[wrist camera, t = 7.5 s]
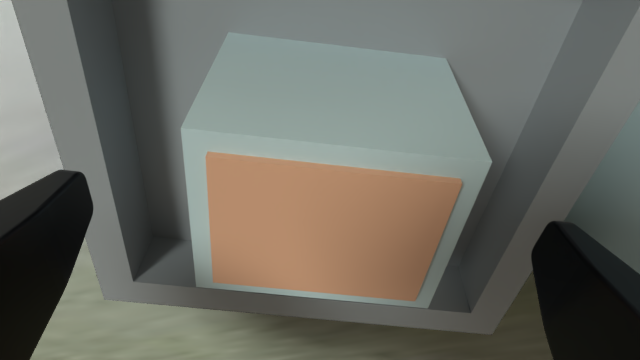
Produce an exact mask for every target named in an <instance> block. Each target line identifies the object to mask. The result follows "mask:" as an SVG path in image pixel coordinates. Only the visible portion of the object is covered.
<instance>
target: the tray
mask: <svg viewBox="0 0 640 360" xmlns="http://www.w3.org/2000/svg"><path fill="white" fill-rule="evenodd" d="M11 1H12V4H13V7H14V10H15V13H16V17H17V20H18V23H19V26H20V30H21V33H22V36H23V39H24V42H25V46H26V49H27V52H28V55H29V59H30V62H31V65H32V68H33V71H34V75H35V78H36V81H37V84H38V87H39V91H40V94H41V97H42V100H43V104H44V107H45V110H46V113H47V116H48V120H49V123H50V126H51V129H52V133H53V136H54V139H55V142H56V145H57V149H58V152H59V155H60V158H61V161H62V165H63V168H64V170H71V171H79V172H82V173H83V174H84V175H85V177H86V180H87V183H88V187H89V190H90V194H91V198H92V201H93V215H92V218H91V221H90V224H89V226H88V229H87V232H86V235H85V239H86V242H87V245H88V248H89V252H90V255H91V258H92V261H93V264H94V268H95V271H96V274H97V277H98V281H99V284H100V287H101V290H102V293H103V297H104V300H115V301H126V302H136V303H147V304H158V305H169V306H180V307H191V308H202V309H213V310H224V311H235V312H246V313H257V314H268V315H279V316H290V317H301V318H312V319H323V320H334V321H345V322H356V323H367V324H378V325H389V326H400V327H411V328H422V329H433V330H443V331H454V332H465V333H476V334H487V335H492V334H493V332H494V331H495V329H496V328H497V326H498V325H499V323H500V321H501V320H502V318H503V317H504V315H505V313H506V312H507V310H508V309H509V307H510V306H511V304H512V302H513V301H514V299H515V298H516V296H517V294H518V293H519V291H520V290H521V288H522V286H523V285H524V283H525V282H526V280H527V279H528V277H529V275H530V274H531V272H532V271H533V267H532V262H531V253H532V249H533V247H534V245H535V243H536V242H537V240H538V238H539V237H540V235H541V233H542V232H543V230H544V228H545V227H546V225H547V224H548V223H549V222H551V221H564V220H565V218H566V217H567V215H568V213H569V212H570V210H571V209H572V207H573V206H574V204H575V202H576V201H577V199H578V198H579V196H580V194H581V193H582V191H583V190H584V188H585V187H586V185H587V183H588V182H589V180H590V179H591V177H592V175H593V174H594V172H595V171H596V169H597V167H598V166H599V164H600V163H601V161H602V160H603V158H604V156H605V155H606V153H607V152H608V150H609V148H610V147H611V145H612V144H613V142H614V141H615V139H616V137H617V136H618V134H619V133H620V131H621V129H622V128H623V126H624V125H625V123H626V121H627V120H628V118H629V117H630V115H631V114H632V112H633V110H634V109H635V107H636V106H637V104H638V102H639V101H640V0H11ZM228 32H231V33H239V34H247V35H256V36H264V37H272V38H281V39H289V40H297V41H306V42H314V43H323V44H331V45H339V46H348V47H356V48H364V49H373V50H381V51H389V52H398V53H406V54H414V55H423V56H431V57H439V58H446V59H447V62H448V64H449V66H450V68H451V71H452V73H453V75H454V77H455V80H456V82H457V84H458V86H459V89H460V91H461V93H462V95H463V98H464V100H465V102H466V104H467V106H468V109H469V111H470V113H471V115H472V118H473V120H474V122H475V124H476V127H477V129H478V131H479V133H480V136H481V138H482V140H483V142H484V145H485V147H486V149H487V151H488V154H489V156H490V158H491V160H492V164H491V166H490V168H489V171H488V173H487V175H486V177H485V180H484V182H483V184H482V186H481V189H480V191H479V193H478V196H477V198H476V200H475V202H474V205H473V207H472V209H471V211H470V214H469V216H468V218H467V221H466V223H465V225H464V227H463V230H462V232H461V234H460V236H459V239H458V241H457V243H456V246H455V248H454V250H453V252H452V255H451V257H450V259H449V261H448V264H447V266H446V268H445V271H444V273H443V275H442V277H441V280H440V282H439V284H438V286H437V289H436V291H435V293H434V296H433V298H432V300H431V302H430V305H429V307H428V308H417V307H407V306H396V305H385V304H374V303H364V302H353V301H342V300H331V299H321V298H310V297H299V296H288V295H278V294H267V293H256V292H245V291H235V290H224V289H213V288H202V287H196V279H195V269H194V259H193V249H192V239H191V228H190V218H189V208H188V198H187V188H186V177H185V167H184V157H183V147H182V137H181V126H182V124H183V122H184V120H185V118H186V116H187V114H188V112H189V110H190V108H191V106H192V104H193V102H194V100H195V98H196V96H197V94H198V92H199V90H200V88H201V86H202V84H203V82H204V80H205V78H206V76H207V74H208V72H209V70H210V68H211V66H212V64H213V62H214V60H215V58H216V56H217V54H218V52H219V50H220V48H221V46H222V44H223V42H224V40H225V38H226V36H227V34H228Z"/></svg>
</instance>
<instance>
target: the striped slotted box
mask: <svg viewBox="0 0 640 360" xmlns="http://www.w3.org/2000/svg"><path fill="white" fill-rule="evenodd" d="M564 222H571V223H574V224H575V225H577V226H578V227H579V228H581V229H582V230H583V231H585V232H586V233H587V234H588V235H590V236H591V237H592V238H594V239H595V240H596V241H598V242H599V243H600V244H601V245H603V246H604V247H605V248H607V249H608V250H609V251H610V252H612V253H613V254H614V255H616V256H617V257H618V258H620V259H621V260H622V261H623V262H625V263H626V264H627V265H629V266H630V267H631V268H633V269H634V270H635V271H636V272H638V273H639V274H640V101H639V102H638V104H637V106H636V107H635V109H634V110H633V112H632V114H631V115H630V117H629V118H628V120H627V121H626V123H625V125H624V126H623V128H622V129H621V131H620V133H619V134H618V136H617V137H616V139H615V141H614V142H613V144H612V145H611V147H610V148H609V150H608V152H607V153H606V155H605V156H604V158H603V160H602V161H601V163H600V164H599V166H598V167H597V169H596V171H595V172H594V174H593V175H592V177H591V179H590V180H589V182H588V183H587V185H586V187H585V188H584V190H583V191H582V193H581V194H580V196H579V198H578V199H577V201H576V202H575V204H574V206H573V207H572V209H571V210H570V212H569V213H568V215H567V217H566V218H565V220H564Z"/></svg>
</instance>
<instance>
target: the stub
mask: <svg viewBox="0 0 640 360" xmlns="http://www.w3.org/2000/svg"><path fill="white" fill-rule="evenodd" d="M181 137H182V147H183V157H184V167H185V177H186V188H187V198H188V208H189V218H190V228H191V239H192V249H193V259H194V269H195V279H196V287H202V288H213V289H224V290H235V291H245V292H256V293H267V294H278V295H288V296H299V297H310V298H321V299H331V300H342V301H353V302H364V303H374V304H385V305H396V306H407V307H417V308H428V307H429V305H430V302H431V300H432V298H433V296H434V293H435V291H436V289H437V286H438V284H439V282H440V280H441V277H442V275H443V273H444V271H445V268H446V266H447V264H448V261H449V259H450V257H451V255H452V252H453V250H454V248H455V246H456V243H457V241H458V239H459V236H460V234H461V232H462V230H463V227H464V225H465V223H466V221H467V218H468V216H469V214H470V211H471V209H472V207H473V205H474V202H475V200H476V198H477V196H478V193H479V191H480V189H481V186H482V184H483V182H484V180H485V177H486V175H487V173H488V171H489V168H490V166H491V164H492V160H491V158H490V156H489V154H488V151H487V149H486V147H485V145H484V142H483V140H482V138H481V136H480V133H479V131H478V129H477V127H476V124H475V122H474V120H473V118H472V115H471V113H470V111H469V109H468V106H467V104H466V102H465V100H464V98H463V95H462V93H461V91H460V89H459V86H458V84H457V82H456V80H455V77H454V75H453V73H452V71H451V68H450V66H449V64H448V62H447V59H446V58H439V57H431V56H423V55H414V54H406V53H398V52H389V51H381V50H373V49H364V48H356V47H348V46H339V45H331V44H323V43H314V42H306V41H297V40H289V39H281V38H272V37H264V36H256V35H247V34H239V33H231V32H228V34H227V36H226V38H225V40H224V42H223V44H222V46H221V48H220V50H219V52H218V54H217V56H216V58H215V60H214V62H213V64H212V66H211V68H210V70H209V72H208V74H207V76H206V78H205V80H204V82H203V84H202V86H201V88H200V90H199V92H198V94H197V96H196V98H195V100H194V102H193V104H192V106H191V108H190V110H189V112H188V114H187V116H186V118H185V120H184V122H183V124H182V126H181Z"/></svg>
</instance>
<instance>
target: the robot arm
mask: <svg viewBox="0 0 640 360" xmlns="http://www.w3.org/2000/svg"><path fill="white" fill-rule="evenodd" d="M92 215H93V201H92V198H91V194H90V190H89V187H88V183H87V180H86V177H85V175H84V174H83V173H82V172H79V171H71V170H58V171H55V172H53V173H51V174H50V175H48V176H46V177H44V178H42V179H40V180H38V181H36V182H34V183H32V184H30V185H29V186H27V187H25V188H23V189H21V190H19V191H17V192H15V193H13V194H11V195H10V196H8V197H6V198H4V199H2V200H0V360H30V358H31V356H32V354H33V352H34V350H35V348H36V346H37V344H38V342H39V340H40V338H41V336H42V334H43V332H44V330H45V328H46V326H47V324H48V322H49V320H50V318H51V316H52V314H53V312H54V310H55V308H56V306H57V304H58V302H59V300H60V298H61V296H62V294H63V292H64V290H65V288H66V286H67V283H68V281H69V278H70V276H71V273H72V270H73V268H74V265H75V262H76V259H77V257H78V254H79V251H80V248H81V246H82V243H83V240H84V237H85V235H86V232H87V229H88V226H89V224H90V221H91V218H92ZM531 262H532V267H533V272H534V278H535V283H536V288H537V294H538V299H539V304H540V310H541V315H542V320H543V325H544V329H545V333H546V336H547V340H548V343H549V347H550V350H551V353H552V356H553V360H640V274H639V273H638V272H636V271H635V270H634V269H633V268H631V267H630V266H629V265H627V264H626V263H625V262H623V261H622V260H621V259H620V258H618V257H617V256H616V255H614V254H613V253H612V252H610V251H609V250H608V249H607V248H605V247H604V246H603V245H601V244H600V243H599V242H598V241H596V240H595V239H594V238H592V237H591V236H590V235H588V234H587V233H586V232H585V231H583V230H582V229H581V228H579V227H578V226H577V225H575V224H574V223H571V222H564V221H551V222H549V223H548V224H547V225H546V227H545V228H544V230H543V232H542V233H541V235H540V237H539V238H538V240H537V242H536V243H535V245H534V247H533V249H532V253H531Z"/></svg>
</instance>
